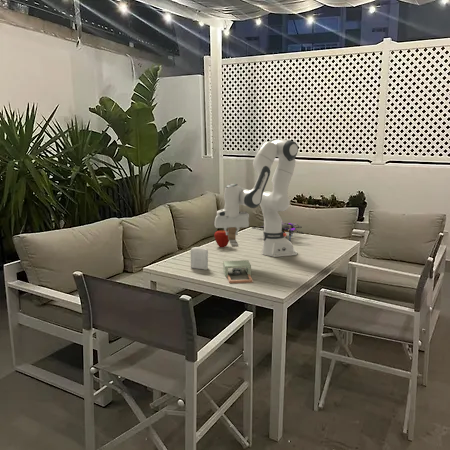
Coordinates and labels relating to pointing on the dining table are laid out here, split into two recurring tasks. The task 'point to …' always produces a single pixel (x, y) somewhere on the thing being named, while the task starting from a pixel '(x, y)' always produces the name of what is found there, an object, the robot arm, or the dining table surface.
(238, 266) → the stand
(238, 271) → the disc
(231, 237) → the wooden handled metal tool
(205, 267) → the photo printer
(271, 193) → the robot arm
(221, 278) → the dining table surface
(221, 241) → the apple
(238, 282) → the frame
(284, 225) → the drone
